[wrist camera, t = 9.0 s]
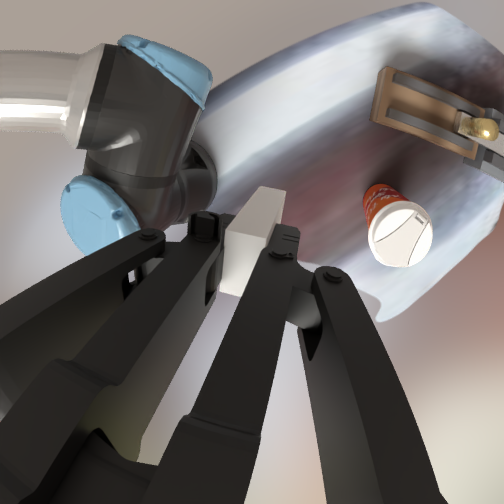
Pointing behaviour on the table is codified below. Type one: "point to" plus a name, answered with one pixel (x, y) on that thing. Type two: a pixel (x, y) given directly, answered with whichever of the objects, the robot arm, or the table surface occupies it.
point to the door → (422, 110)
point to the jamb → (484, 157)
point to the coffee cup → (396, 227)
